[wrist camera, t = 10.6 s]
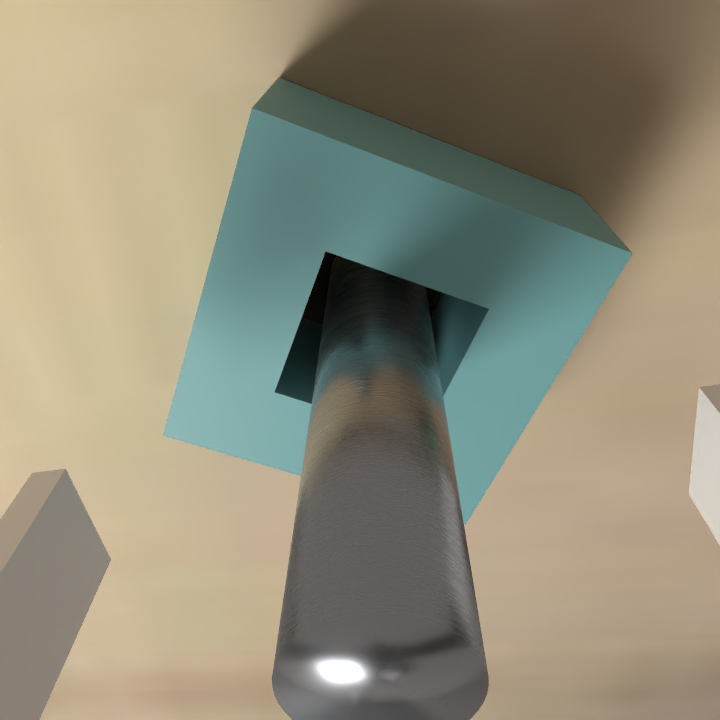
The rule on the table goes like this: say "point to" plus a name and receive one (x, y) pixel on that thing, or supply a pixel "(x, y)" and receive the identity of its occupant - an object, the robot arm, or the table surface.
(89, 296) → the table surface
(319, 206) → the drilled block
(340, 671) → the long pin
